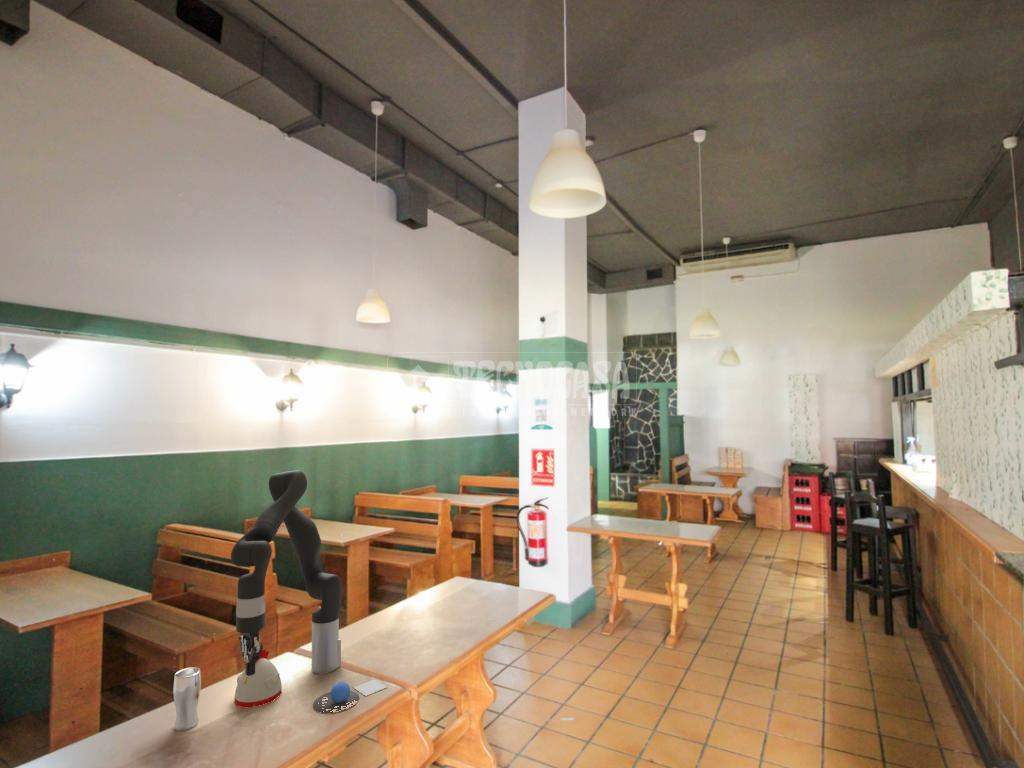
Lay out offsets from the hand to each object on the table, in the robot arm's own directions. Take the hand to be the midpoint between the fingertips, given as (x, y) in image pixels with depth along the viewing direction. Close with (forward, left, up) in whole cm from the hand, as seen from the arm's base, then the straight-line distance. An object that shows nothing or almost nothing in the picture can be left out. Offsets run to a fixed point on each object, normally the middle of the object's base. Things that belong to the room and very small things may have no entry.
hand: (250, 674), depth 152 cm
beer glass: (+11, -20, -17) cm, 29 cm away
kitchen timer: (-10, -22, -17) cm, 30 cm away
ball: (-27, +1, -14) cm, 30 cm away
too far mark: (-38, 0, -17) cm, 42 cm away
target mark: (-26, 0, -17) cm, 31 cm away
